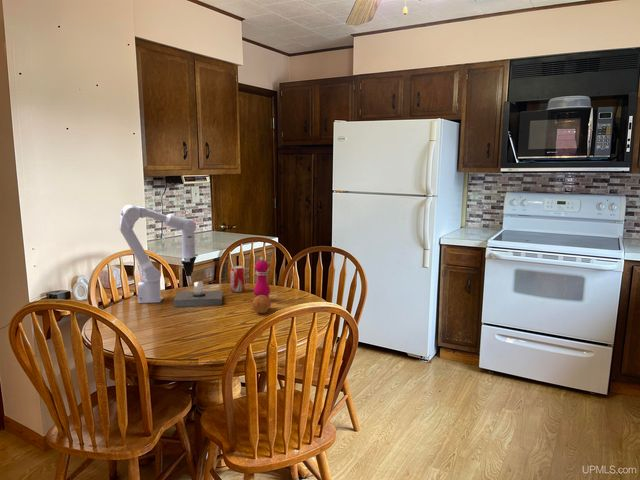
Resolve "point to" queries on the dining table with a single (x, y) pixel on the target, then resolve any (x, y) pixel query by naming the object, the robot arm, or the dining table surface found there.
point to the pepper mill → (262, 278)
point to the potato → (261, 304)
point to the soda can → (237, 278)
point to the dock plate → (198, 299)
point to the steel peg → (198, 289)
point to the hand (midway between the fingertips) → (189, 274)
